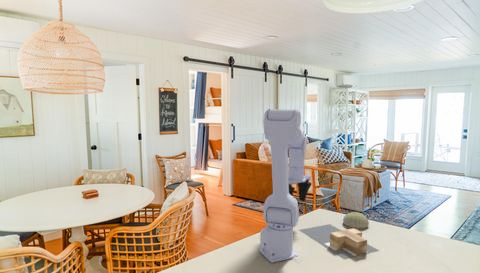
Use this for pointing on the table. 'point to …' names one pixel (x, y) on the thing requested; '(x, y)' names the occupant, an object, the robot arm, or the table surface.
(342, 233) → the T block
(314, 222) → the table surface
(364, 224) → the sea urchin shell
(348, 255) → the T board
